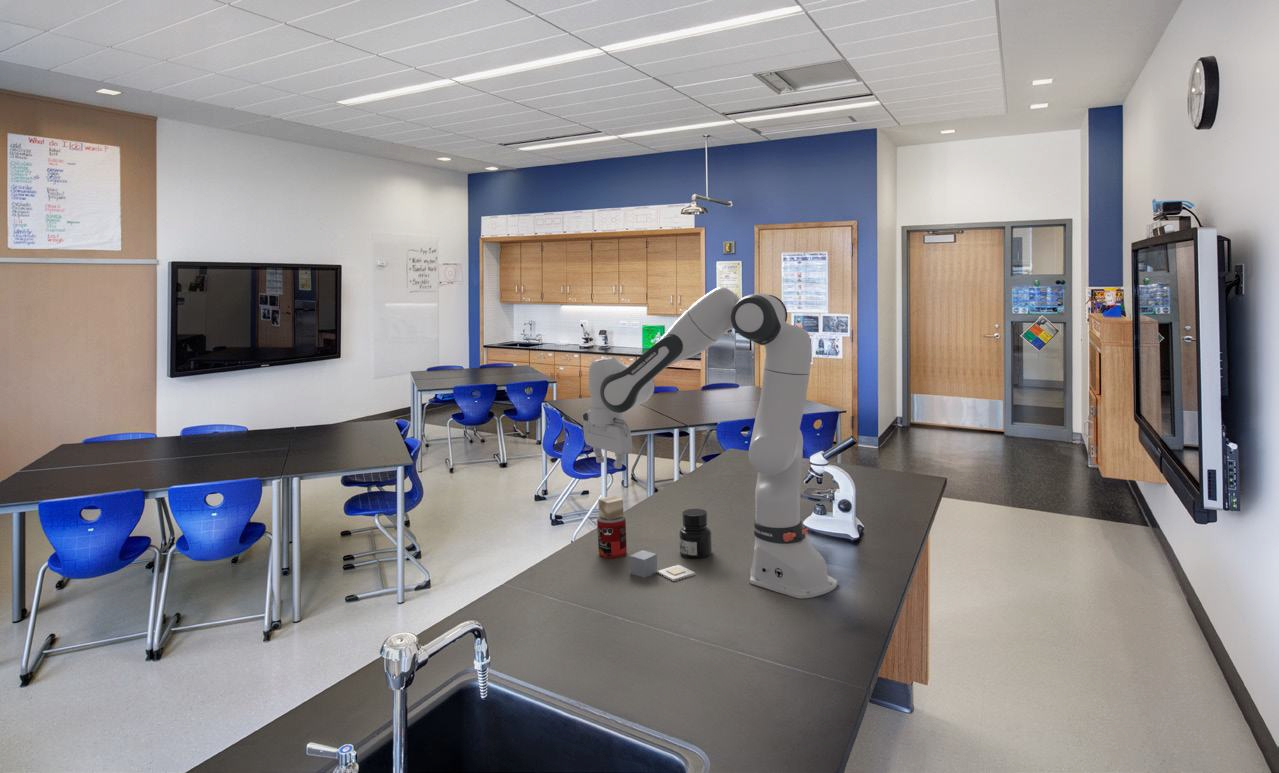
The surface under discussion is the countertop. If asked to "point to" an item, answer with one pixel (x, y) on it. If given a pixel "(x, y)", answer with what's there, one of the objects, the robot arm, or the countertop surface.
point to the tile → (676, 572)
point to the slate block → (643, 563)
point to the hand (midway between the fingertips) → (609, 465)
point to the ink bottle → (695, 535)
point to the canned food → (612, 537)
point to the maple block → (611, 507)
